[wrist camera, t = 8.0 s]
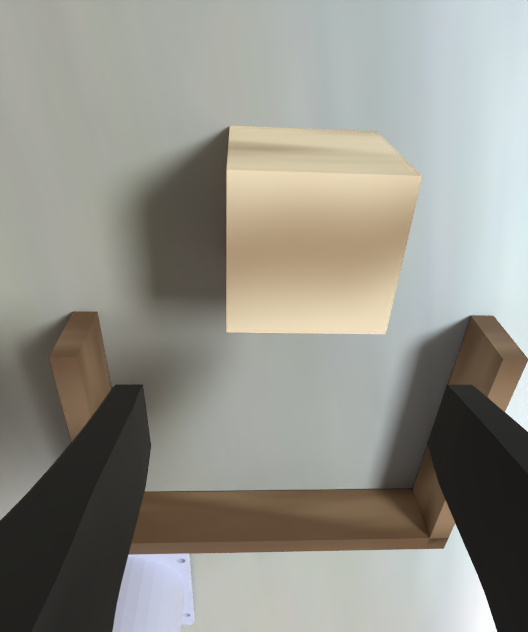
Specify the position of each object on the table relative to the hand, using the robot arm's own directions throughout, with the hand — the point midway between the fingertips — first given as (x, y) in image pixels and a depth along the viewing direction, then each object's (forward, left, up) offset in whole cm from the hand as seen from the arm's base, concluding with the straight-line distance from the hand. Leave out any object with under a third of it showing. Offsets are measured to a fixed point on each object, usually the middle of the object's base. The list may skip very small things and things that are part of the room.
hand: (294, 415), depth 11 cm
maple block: (+2, -1, -9) cm, 9 cm away
